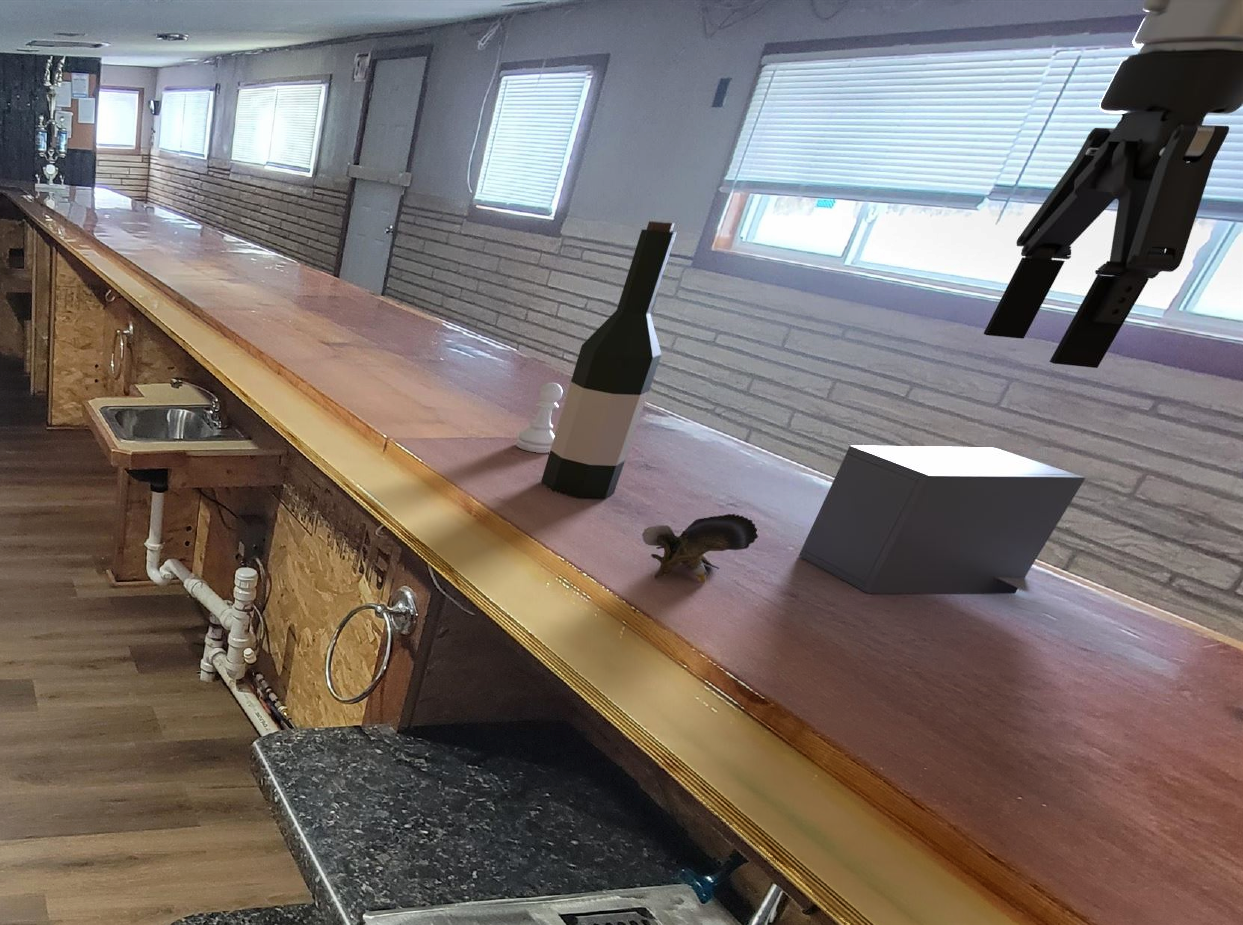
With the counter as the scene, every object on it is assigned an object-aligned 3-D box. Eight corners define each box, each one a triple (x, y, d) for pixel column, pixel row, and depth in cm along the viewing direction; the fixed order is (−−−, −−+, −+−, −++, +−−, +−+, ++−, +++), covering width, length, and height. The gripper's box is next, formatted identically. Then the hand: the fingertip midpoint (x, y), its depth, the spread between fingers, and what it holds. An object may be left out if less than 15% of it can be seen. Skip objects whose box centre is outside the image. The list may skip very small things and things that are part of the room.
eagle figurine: (718, 591, 84) (772, 557, 88) (693, 520, 84) (748, 489, 87) (641, 601, 91) (694, 569, 95) (617, 536, 91) (671, 506, 94)
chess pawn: (538, 455, 123) (557, 389, 119) (507, 445, 127) (525, 380, 123) (562, 451, 126) (581, 385, 121) (531, 441, 129) (549, 377, 125)
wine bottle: (541, 492, 110) (622, 221, 95) (540, 472, 117) (615, 216, 102) (616, 504, 108) (712, 227, 93) (610, 483, 114) (699, 222, 99)
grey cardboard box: (934, 556, 97) (994, 447, 91) (1015, 593, 90) (1086, 477, 84) (798, 555, 96) (849, 445, 90) (867, 593, 88) (929, 475, 82)
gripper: (1055, 63, 77) (931, 322, 88) (1232, 33, 57) (1044, 372, 68) (1170, 65, 75) (1028, 331, 85) (1397, 34, 55) (1175, 386, 65)
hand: (1035, 350), depth 77 cm, fingers open, 13 cm apart
